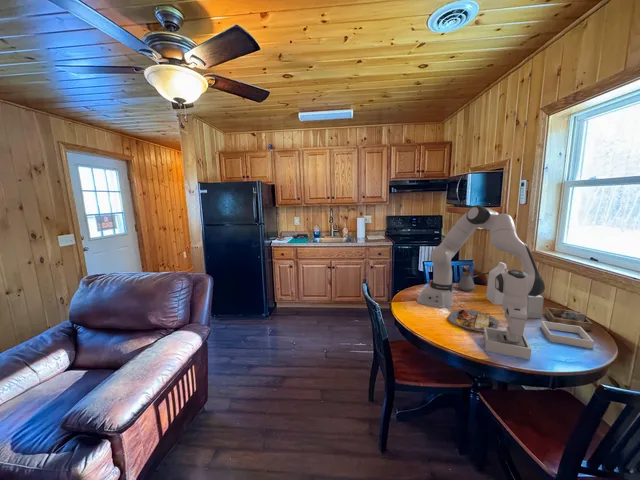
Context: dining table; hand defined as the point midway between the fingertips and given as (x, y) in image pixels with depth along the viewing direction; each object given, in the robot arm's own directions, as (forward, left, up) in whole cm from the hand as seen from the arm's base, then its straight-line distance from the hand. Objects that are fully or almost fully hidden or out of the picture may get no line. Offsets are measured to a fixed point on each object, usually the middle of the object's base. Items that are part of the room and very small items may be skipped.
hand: (512, 335), depth 119 cm
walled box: (-2, 0, -6) cm, 7 cm away
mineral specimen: (+33, +41, -7) cm, 53 cm away
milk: (+3, +61, -7) cm, 61 cm away
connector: (0, 0, -3) cm, 3 cm away
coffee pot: (-11, +78, -7) cm, 79 cm away
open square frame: (+25, +22, -6) cm, 34 cm away
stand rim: (+31, +42, -6) cm, 52 cm away
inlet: (0, 0, -6) cm, 6 cm away
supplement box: (+16, +44, -7) cm, 47 cm away
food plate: (-14, +22, -7) cm, 27 cm away
